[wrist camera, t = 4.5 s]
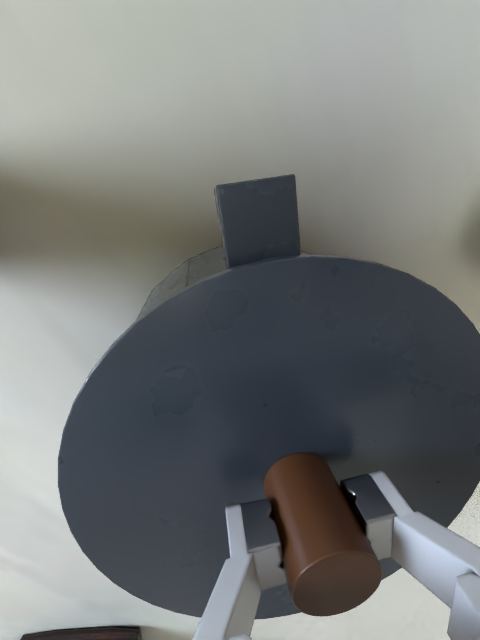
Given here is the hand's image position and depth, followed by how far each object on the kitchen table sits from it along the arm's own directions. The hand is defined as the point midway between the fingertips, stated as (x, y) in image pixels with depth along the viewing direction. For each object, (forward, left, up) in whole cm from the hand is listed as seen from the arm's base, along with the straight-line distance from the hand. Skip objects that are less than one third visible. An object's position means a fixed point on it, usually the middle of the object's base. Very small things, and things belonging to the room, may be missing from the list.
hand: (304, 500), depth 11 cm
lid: (0, 0, -1) cm, 1 cm away
